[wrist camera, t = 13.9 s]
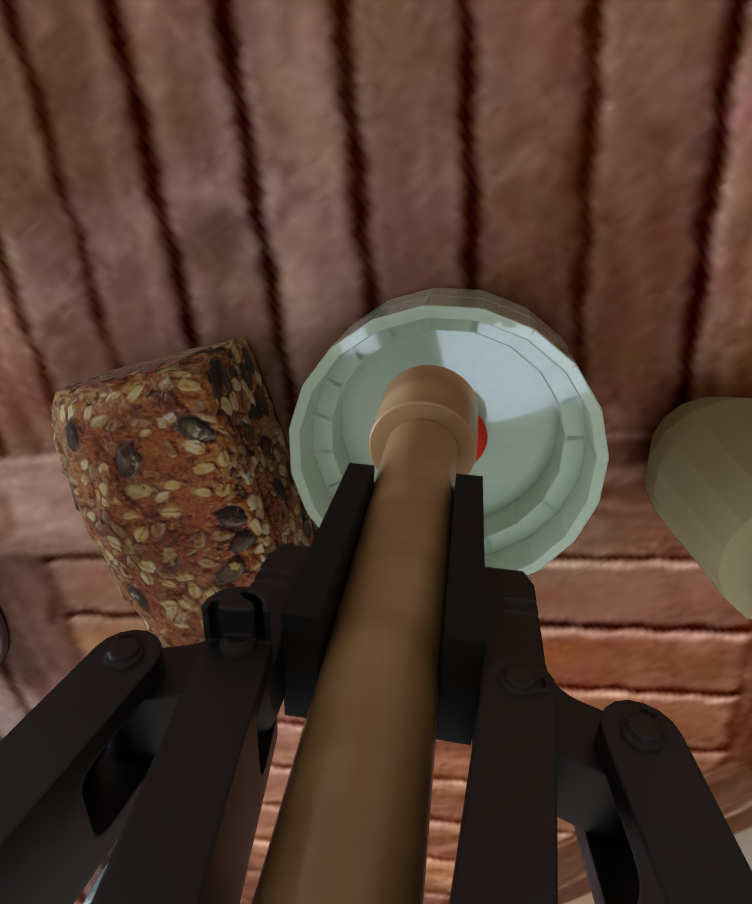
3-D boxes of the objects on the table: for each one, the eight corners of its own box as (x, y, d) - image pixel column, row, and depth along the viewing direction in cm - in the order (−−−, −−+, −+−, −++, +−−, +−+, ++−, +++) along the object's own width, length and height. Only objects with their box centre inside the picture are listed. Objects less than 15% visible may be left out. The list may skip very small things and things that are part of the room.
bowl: (320, 520, 39) (295, 573, 34) (315, 278, 32) (282, 296, 27) (561, 547, 37) (575, 609, 31) (612, 293, 30) (641, 316, 24)
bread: (340, 576, 41) (301, 685, 32) (210, 590, 43) (140, 694, 34) (258, 324, 34) (178, 372, 25) (109, 358, 36) (-11, 413, 28)
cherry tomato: (426, 471, 30) (464, 416, 29) (402, 437, 33) (435, 385, 32) (474, 488, 32) (511, 437, 31) (447, 454, 35) (480, 406, 34)
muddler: (367, 426, 22) (-14, 1478, 5) (405, 347, 20) (-12, 1630, 3) (451, 463, 22) (344, 1577, 5) (496, 389, 20) (542, 1774, 4)
